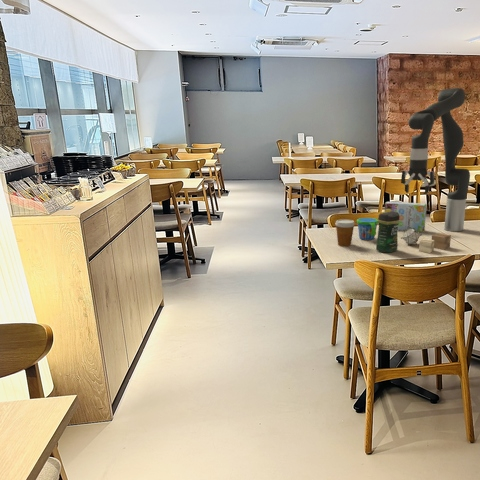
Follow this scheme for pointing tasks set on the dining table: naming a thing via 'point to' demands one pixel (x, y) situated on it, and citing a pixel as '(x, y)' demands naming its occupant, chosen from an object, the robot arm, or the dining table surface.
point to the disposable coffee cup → (344, 231)
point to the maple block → (426, 245)
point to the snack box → (408, 215)
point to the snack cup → (367, 228)
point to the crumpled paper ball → (411, 236)
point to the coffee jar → (387, 232)
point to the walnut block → (441, 241)
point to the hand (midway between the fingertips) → (416, 193)
